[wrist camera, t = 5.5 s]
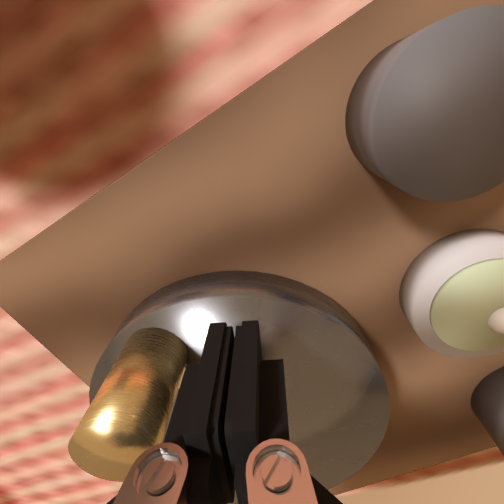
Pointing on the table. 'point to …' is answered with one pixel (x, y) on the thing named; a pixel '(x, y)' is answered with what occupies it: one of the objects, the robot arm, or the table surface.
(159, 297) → the silver metal dome
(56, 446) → the table surface
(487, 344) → the levelling base
